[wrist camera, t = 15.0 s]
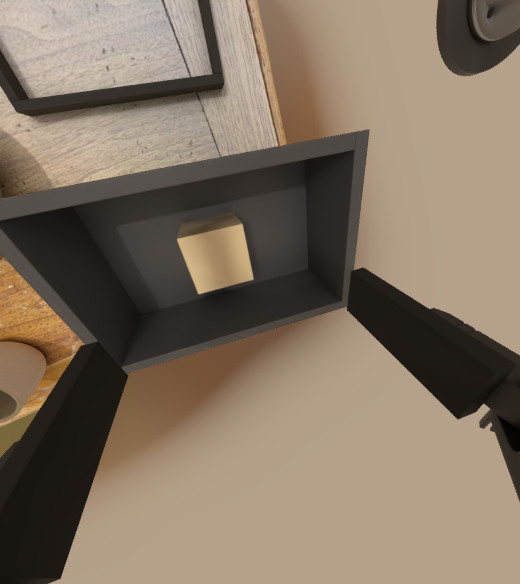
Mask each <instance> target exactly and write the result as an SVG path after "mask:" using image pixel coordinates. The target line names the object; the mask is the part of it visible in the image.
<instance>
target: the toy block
mask: <svg viewBox="0 0 520 584" xmlns="http://www.w3.org/2000/svg"><path fill="white" fill-rule="evenodd" d="M177 242H178V244H179V247H180V249H181V252H182V254H183V257H184V259H185V262H186V264H187V267H188V269H189V272H190V274H191V277H192V279H193V282H194V285H195V287H196V290H197V292H198V294H202V293H205V292H209V291H213V290H217V289H220V288H224V287H228V286H231V285H235V284H239V283H243V282H246V281H250V280H253V279H254V278H253V273H252V268H251V263H250V258H249V253H248V248H247V243H246V238H245V233H244V228H243V224H242V223H241V221H240V220H239V219H238V217H237V216H236V215H235V213H234V212H228V213H224V214H219V215H215V216H211V217H206V218H202V219H197V220H193V221H188V222H184V223H181V226H180V229H179V233H178V236H177Z"/></svg>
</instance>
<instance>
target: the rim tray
mask: <svg viewBox="0 0 520 584" xmlns="http://www.w3.org/2000/svg"><path fill="white" fill-rule="evenodd" d="M198 3H199V8H200V13H201V18H202V23H203V28H204V33H205V38H206V43H207V48H208V53H209V58H210V63H211V68H212V73H213V74H211V75H204V76H197V77H189V78H182V79H174V80H167V81H160V82H152V83H145V84H138V85H130V86H123V87H115V88H108V89H101V90H93V91H86V92H78V93H71V94H64V95H56V96H49V97H42V98H34V99H29V98H28V97H27V95H26V93H25V91H24V90H23V88H22V86H21V85H20V83H19V81H18V79H17V78H16V76H15V74H14V73H13V71H12V69H11V67H10V66H9V64H8V62H7V61H6V59H5V57H4V55H3V54H2V52H1V50H0V86H1V88H2V89H3V91H4V93H5V94H6V96H7V97H8V99H9V101H10V102H11V104H12V105H13V107H14V109H15V110H16V112H18V113H21V114H25V115H28V116H36V115H42V114H49V113H56V112H63V111H70V110H77V109H84V108H91V107H98V106H105V105H111V104H118V103H125V102H132V101H139V100H146V99H153V98H160V97H167V96H173V95H180V94H187V93H194V92H201V91H208V90H215V89H222V88H223V85H224V79H223V74H222V68H221V63H220V57H219V52H218V46H217V41H216V35H215V30H214V25H213V19H212V14H211V8H210V3H209V0H198Z"/></svg>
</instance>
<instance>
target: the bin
mask: <svg viewBox="0 0 520 584" xmlns="http://www.w3.org/2000/svg"><path fill="white" fill-rule="evenodd" d="M368 138H369V130H363V131H357V132H353V133H347V134H342V135H336V136H331V137H325V138H320V139H315V140H310V141H304V142H299V143H293V144H288V145H283V146H278V147H272V148H267V149H262V150H256V151H251V152H246V153H240V154H235V155H230V156H224V157H219V158H214V159H208V160H203V161H198V162H192V163H187V164H182V165H176V166H171V167H166V168H160V169H155V170H150V171H144V172H139V173H134V174H128V175H123V176H118V177H112V178H107V179H102V180H96V181H91V182H86V183H81V184H75V185H70V186H65V187H59V188H54V189H49V190H43V191H38V192H33V193H27V194H22V195H17V196H11V197H6V198H1V199H0V253H1V254H2V256H3V257H4V258H5V259H6V260H7V261H8V262H9V263H10V264H11V265H12V266H13V267H14V268H15V270H16V271H17V272H18V273H19V274H20V275H21V276H22V277H23V278H24V279H25V280H26V281H27V282H28V283H29V285H30V286H31V287H32V288H33V289H34V290H35V291H36V292H37V293H38V294H39V295H40V296H41V297H42V299H43V300H44V301H45V302H46V303H47V304H48V305H49V306H50V307H51V308H52V309H53V310H54V311H55V313H56V314H57V315H58V316H59V317H60V318H61V319H62V320H63V321H64V322H65V323H66V324H67V325H68V326H69V328H70V329H71V330H72V331H73V332H74V333H75V334H76V335H77V336H78V337H79V338H80V339H81V340H82V342H83V343H84V344H85V345H86V344H90V343H94V342H97V341H98V342H99V343H100V344H101V345H102V346H103V347H104V348H105V350H106V351H107V352H108V353H109V354H110V355H111V356H112V358H113V359H114V360H115V361H116V362H117V363H118V365H119V366H120V367H121V368H122V369H123V370H124V371H125V373H131V372H134V371H137V370H140V369H144V368H147V367H150V366H154V365H157V364H160V363H164V362H167V361H170V360H173V359H177V358H180V357H183V356H186V355H190V354H193V353H196V352H200V351H203V350H206V349H209V348H213V347H216V346H219V345H222V344H226V343H229V342H232V341H236V340H239V339H242V338H246V337H248V336H252V335H255V334H258V333H262V332H265V331H268V330H272V329H275V328H278V327H282V326H284V325H288V324H291V323H295V322H298V321H301V320H304V319H307V318H311V317H314V316H317V315H321V314H324V313H327V312H331V311H334V310H337V309H340V308H344V307H347V304H348V295H349V285H350V276H351V271H353V270H354V263H355V254H356V244H357V236H358V227H359V218H360V210H361V200H362V192H363V183H364V174H365V165H366V156H367V147H368ZM228 212H234V213H235V215H236V216H237V217H238V219H239V220H240V221H241V223H242V224H243V228H244V233H245V238H246V243H247V248H248V253H249V258H250V263H251V268H252V273H253V278H254V279H253V280H250V281H246V282H243V283H239V284H235V285H231V286H228V287H224V288H220V289H217V290H213V291H209V292H205V293H202V294H198V292H197V290H196V287H195V285H194V282H193V279H192V277H191V274H190V272H189V269H188V267H187V264H186V262H185V259H184V257H183V254H182V252H181V249H180V247H179V244H178V242H177V236H178V233H179V229H180V226H181V223H184V222H188V221H193V220H197V219H202V218H206V217H211V216H215V215H219V214H224V213H228Z"/></svg>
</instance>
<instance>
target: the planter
mask: <svg viewBox="0 0 520 584" xmlns="http://www.w3.org/2000/svg"><path fill="white" fill-rule="evenodd" d="M46 367H47V363H46V359H45V357H44V355H43V354H42V353H41V352H40V351H39V350H37V349H36V348H34V347H32V346H30V345H27V344H24V343H19V342H9V341H5V342H0V423H2V422H5V421H7V420H9V419H11V418H13V417H15V416H16V415H17V414H18V413H19V412H20V410H21V409H22V408H23V406H24V405H25V403H26V402H27V400H28V399H29V397H30V396H31V395H32V393H33V392H34V391H35V389H36V388H37V386H38V385H39V383H40V382H41V380H42V378H43V376H44V374H45V371H46Z"/></svg>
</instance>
